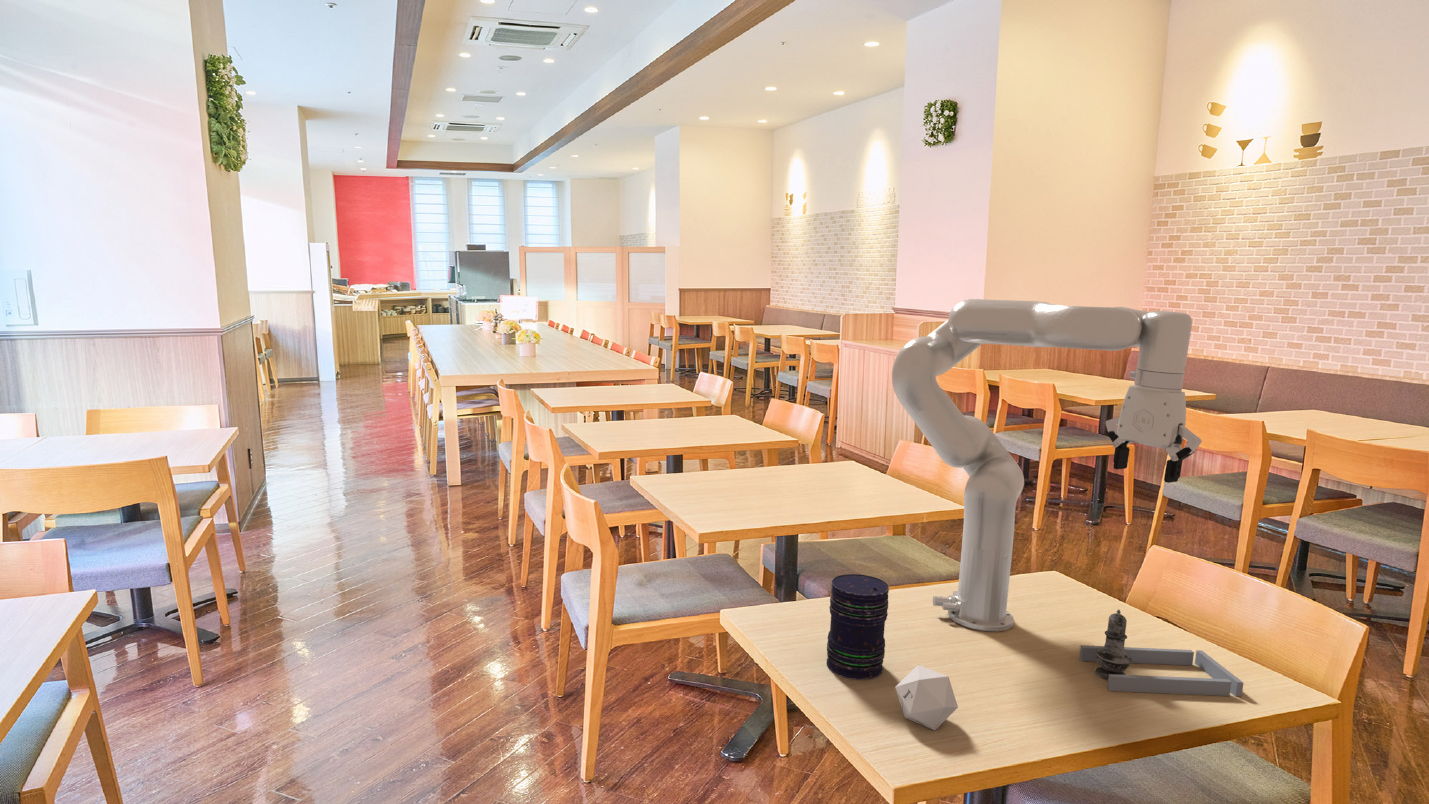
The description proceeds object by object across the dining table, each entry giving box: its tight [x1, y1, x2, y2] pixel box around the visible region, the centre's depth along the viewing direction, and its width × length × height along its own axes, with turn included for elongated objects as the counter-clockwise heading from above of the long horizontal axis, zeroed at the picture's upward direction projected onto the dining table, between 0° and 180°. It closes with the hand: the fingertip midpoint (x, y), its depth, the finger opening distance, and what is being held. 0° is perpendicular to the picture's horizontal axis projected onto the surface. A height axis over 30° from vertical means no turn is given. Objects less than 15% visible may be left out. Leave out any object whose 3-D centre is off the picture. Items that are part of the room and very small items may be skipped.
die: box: [895, 664, 959, 731], centre depth 125 cm, size 8×9×10 cm
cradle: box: [1078, 644, 1244, 698], centre depth 143 cm, size 22×12×2 cm, turn 90°
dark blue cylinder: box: [826, 573, 890, 681], centre depth 141 cm, size 10×10×15 cm
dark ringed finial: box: [1094, 609, 1132, 681], centre depth 142 cm, size 6×6×12 cm
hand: (1144, 475), depth 148 cm, fingers open, 9 cm apart
